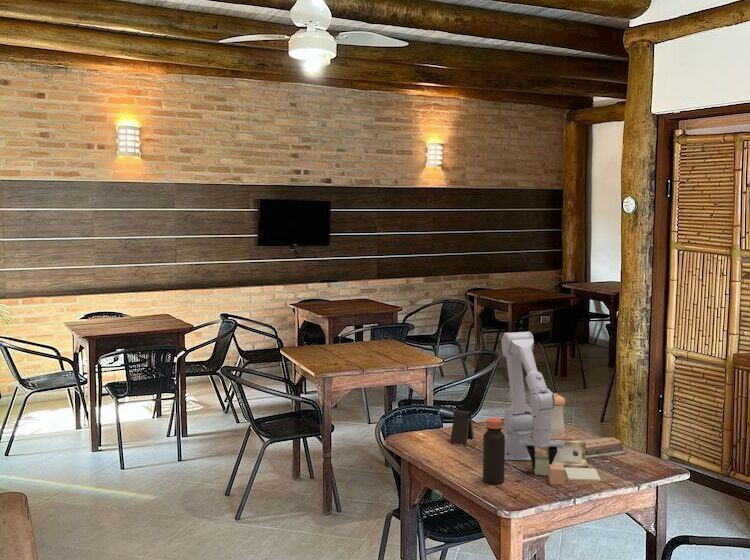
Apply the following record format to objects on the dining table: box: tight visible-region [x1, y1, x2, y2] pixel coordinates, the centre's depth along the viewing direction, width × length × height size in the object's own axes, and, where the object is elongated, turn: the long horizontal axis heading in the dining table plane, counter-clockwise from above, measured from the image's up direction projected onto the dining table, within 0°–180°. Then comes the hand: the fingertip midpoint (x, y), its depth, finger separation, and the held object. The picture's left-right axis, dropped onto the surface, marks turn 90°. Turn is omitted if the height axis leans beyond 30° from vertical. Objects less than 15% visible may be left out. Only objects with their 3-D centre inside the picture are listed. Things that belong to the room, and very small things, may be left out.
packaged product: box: [579, 436, 627, 460], centre depth 265 cm, size 18×5×10 cm
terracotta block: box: [548, 465, 566, 486], centre depth 237 cm, size 4×4×5 cm
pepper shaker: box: [551, 393, 566, 441], centre depth 273 cm, size 7×7×19 cm
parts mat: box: [564, 467, 602, 482], centre depth 243 cm, size 10×10×1 cm
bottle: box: [482, 417, 506, 485], centre depth 237 cm, size 7×7×20 cm
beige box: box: [545, 440, 589, 468], centre depth 253 cm, size 13×8×7 cm, turn 83°
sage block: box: [533, 455, 549, 476], centre depth 245 cm, size 4×4×5 cm
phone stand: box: [449, 408, 475, 446], centre depth 278 cm, size 9×6×12 cm, turn 151°
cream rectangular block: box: [553, 444, 582, 463], centre depth 253 cm, size 9×5×5 cm, turn 83°
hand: (541, 468), depth 245 cm, fingers closed on sage block, 4 cm apart
